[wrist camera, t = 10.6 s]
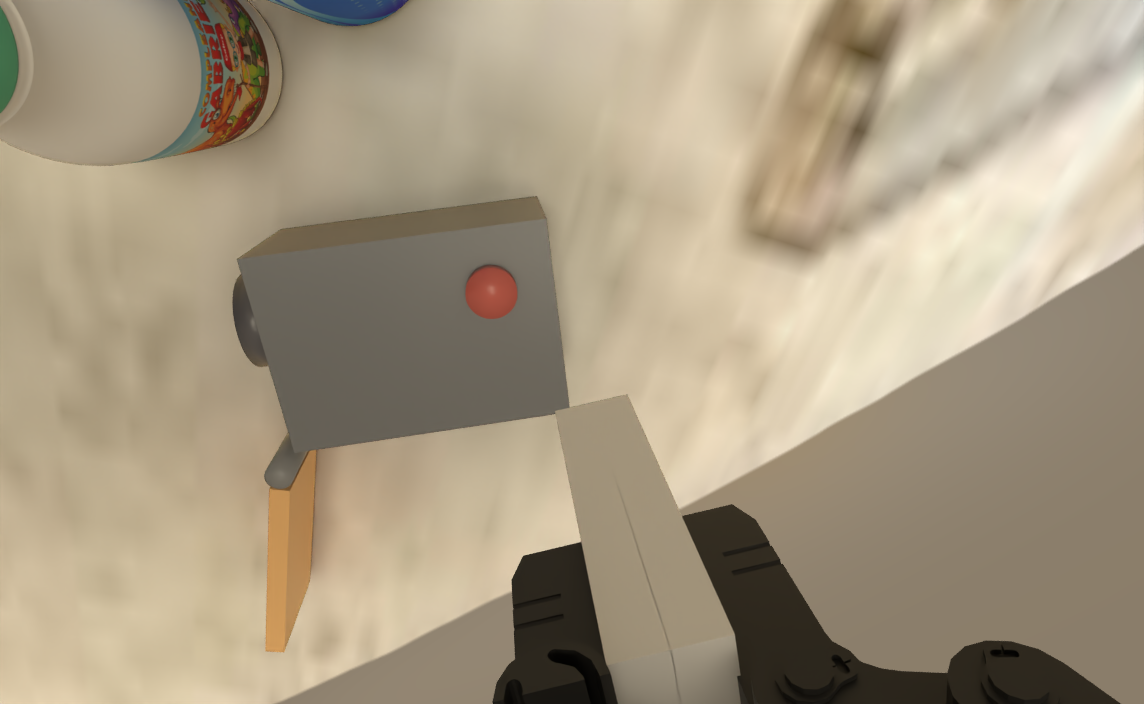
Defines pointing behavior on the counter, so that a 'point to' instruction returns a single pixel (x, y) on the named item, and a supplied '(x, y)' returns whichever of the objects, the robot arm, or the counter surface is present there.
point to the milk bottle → (133, 77)
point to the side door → (288, 539)
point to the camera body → (405, 322)
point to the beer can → (344, 10)
